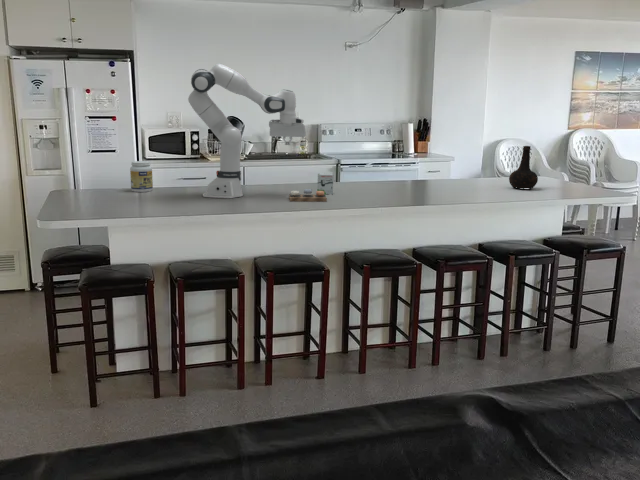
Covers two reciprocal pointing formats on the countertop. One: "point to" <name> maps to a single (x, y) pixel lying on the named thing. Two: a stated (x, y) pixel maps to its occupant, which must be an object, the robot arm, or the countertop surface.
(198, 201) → the countertop surface
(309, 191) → the slate button
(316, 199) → the button panel
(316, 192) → the terracotta button
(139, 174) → the supplement tub
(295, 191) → the cream button
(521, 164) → the glass bottle
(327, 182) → the ink box
